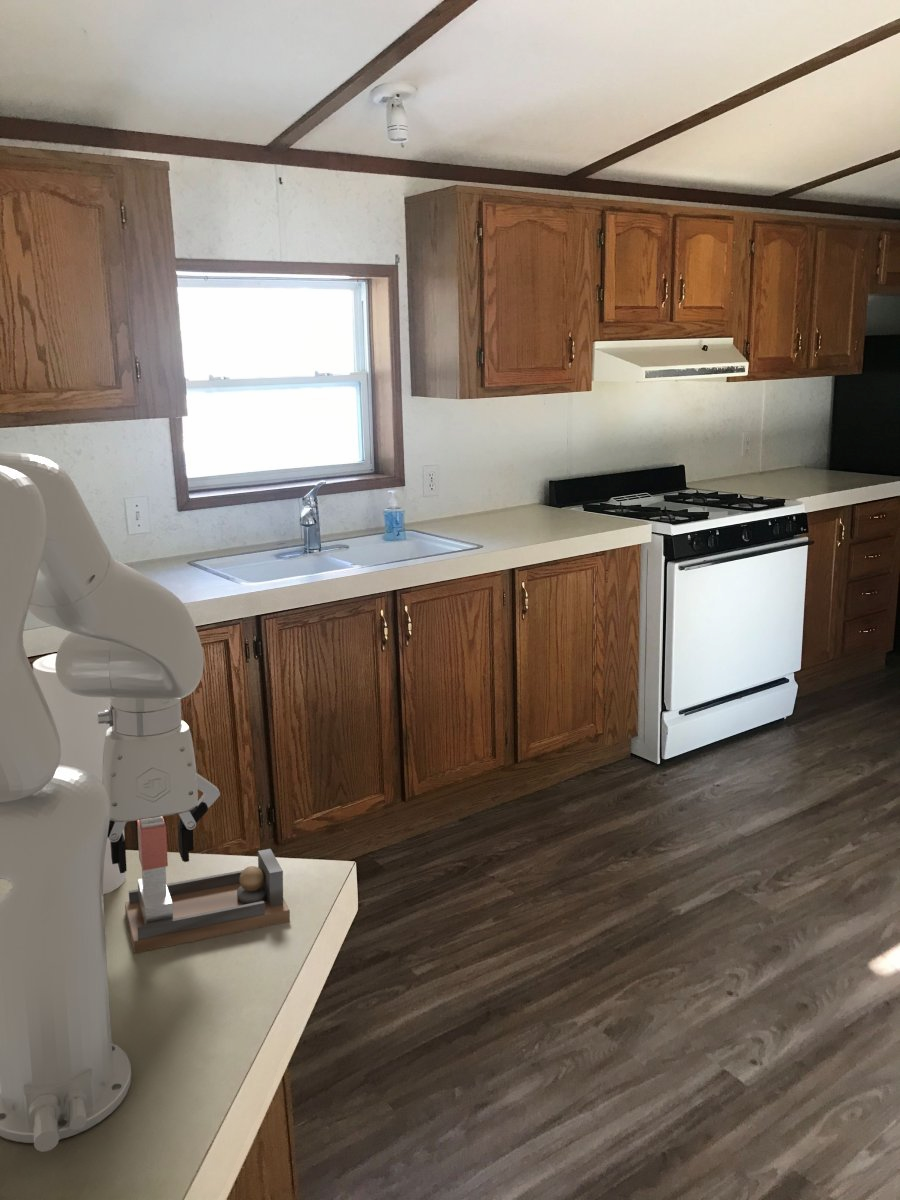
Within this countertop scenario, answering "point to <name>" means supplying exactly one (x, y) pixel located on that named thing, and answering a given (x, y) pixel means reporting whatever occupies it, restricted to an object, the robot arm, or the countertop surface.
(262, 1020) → the countertop surface
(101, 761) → the cylinder container
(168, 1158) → the countertop surface
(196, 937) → the nutcracker board
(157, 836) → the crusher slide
